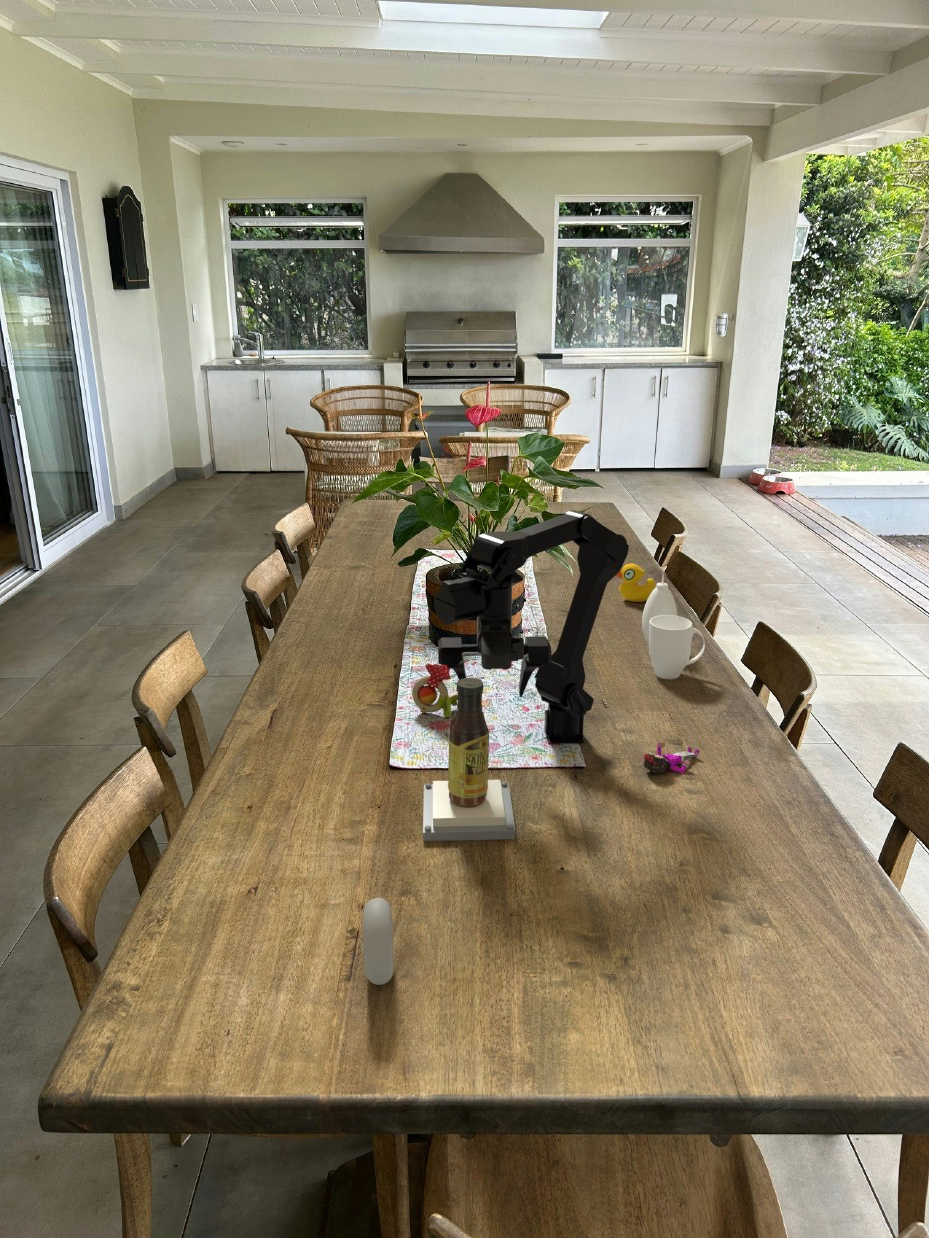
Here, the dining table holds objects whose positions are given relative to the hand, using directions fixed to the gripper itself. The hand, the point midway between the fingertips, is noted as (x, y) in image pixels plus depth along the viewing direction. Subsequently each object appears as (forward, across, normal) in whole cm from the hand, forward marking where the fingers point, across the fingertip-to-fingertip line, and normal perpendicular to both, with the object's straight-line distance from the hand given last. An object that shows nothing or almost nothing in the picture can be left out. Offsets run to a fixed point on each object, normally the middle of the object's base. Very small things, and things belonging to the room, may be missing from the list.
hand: (493, 696), depth 156 cm
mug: (+13, +41, +37) cm, 57 cm away
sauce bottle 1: (+10, -5, -16) cm, 19 cm away
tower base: (+13, -5, -16) cm, 21 cm away
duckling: (+13, +42, +84) cm, 95 cm away
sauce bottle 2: (+13, +41, +52) cm, 68 cm away
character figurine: (+13, +31, -2) cm, 34 cm away
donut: (+13, -17, -51) cm, 55 cm away
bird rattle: (+13, -10, +20) cm, 26 cm away
